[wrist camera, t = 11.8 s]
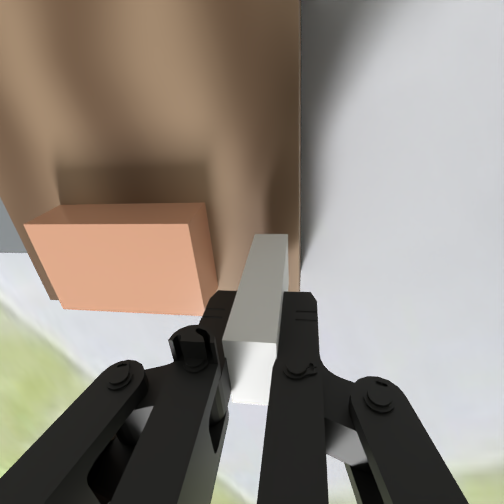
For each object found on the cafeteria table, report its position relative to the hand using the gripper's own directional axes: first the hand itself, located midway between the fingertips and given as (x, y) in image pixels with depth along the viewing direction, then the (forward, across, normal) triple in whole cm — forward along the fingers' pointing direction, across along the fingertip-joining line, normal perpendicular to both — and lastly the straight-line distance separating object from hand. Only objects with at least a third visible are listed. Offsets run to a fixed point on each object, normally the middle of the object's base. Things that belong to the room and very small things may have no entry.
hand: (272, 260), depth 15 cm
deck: (+5, +7, -4) cm, 10 cm away
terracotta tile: (+1, +7, 0) cm, 7 cm away
